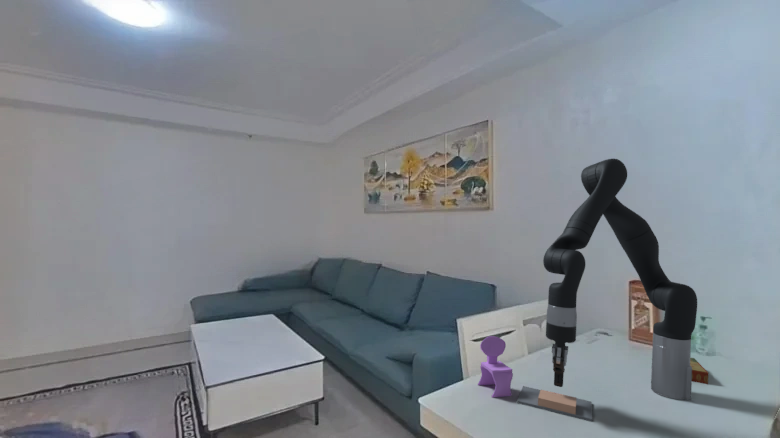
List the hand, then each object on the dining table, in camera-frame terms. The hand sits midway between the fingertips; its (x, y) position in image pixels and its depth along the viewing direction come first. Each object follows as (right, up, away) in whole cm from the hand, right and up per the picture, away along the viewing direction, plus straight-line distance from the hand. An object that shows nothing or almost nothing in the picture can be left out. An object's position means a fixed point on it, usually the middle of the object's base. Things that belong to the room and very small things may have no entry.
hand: (558, 385), depth 103 cm
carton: (+57, -9, +28) cm, 64 cm away
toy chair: (-16, -5, +7) cm, 18 cm away
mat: (-1, -5, 0) cm, 5 cm away
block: (0, -4, +1) cm, 4 cm away
